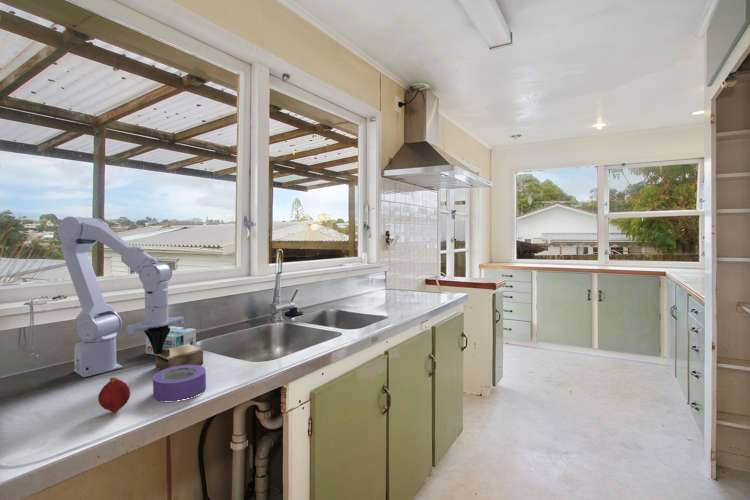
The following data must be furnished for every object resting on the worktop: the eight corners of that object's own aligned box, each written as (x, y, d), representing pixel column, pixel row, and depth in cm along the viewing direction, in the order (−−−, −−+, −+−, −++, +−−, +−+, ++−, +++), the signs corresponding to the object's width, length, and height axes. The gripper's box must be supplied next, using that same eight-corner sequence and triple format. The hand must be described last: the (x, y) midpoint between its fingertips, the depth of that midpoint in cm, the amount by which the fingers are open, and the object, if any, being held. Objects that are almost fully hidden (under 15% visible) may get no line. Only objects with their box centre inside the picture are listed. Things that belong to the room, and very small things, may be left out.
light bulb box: (196, 328, 130) (172, 336, 120) (196, 347, 130) (172, 357, 120) (171, 325, 133) (144, 333, 123) (171, 344, 133) (145, 353, 123)
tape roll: (178, 406, 87) (178, 385, 87) (141, 398, 91) (141, 378, 91) (216, 387, 98) (216, 368, 98) (182, 380, 103) (181, 362, 102)
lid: (167, 359, 106) (167, 351, 106) (154, 353, 111) (154, 345, 110) (202, 350, 114) (202, 342, 114) (188, 345, 119) (188, 338, 119)
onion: (109, 406, 87) (108, 371, 86) (135, 405, 87) (135, 371, 87) (92, 418, 81) (91, 382, 81) (121, 417, 82) (120, 381, 81)
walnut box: (169, 373, 106) (169, 359, 106) (155, 367, 111) (155, 354, 111) (203, 364, 114) (203, 351, 114) (189, 358, 119) (189, 346, 119)
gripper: (134, 312, 98) (135, 363, 99) (189, 303, 110) (190, 349, 111) (123, 308, 103) (124, 357, 103) (177, 300, 114) (177, 345, 115)
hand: (157, 353), depth 107 cm, fingers closed
